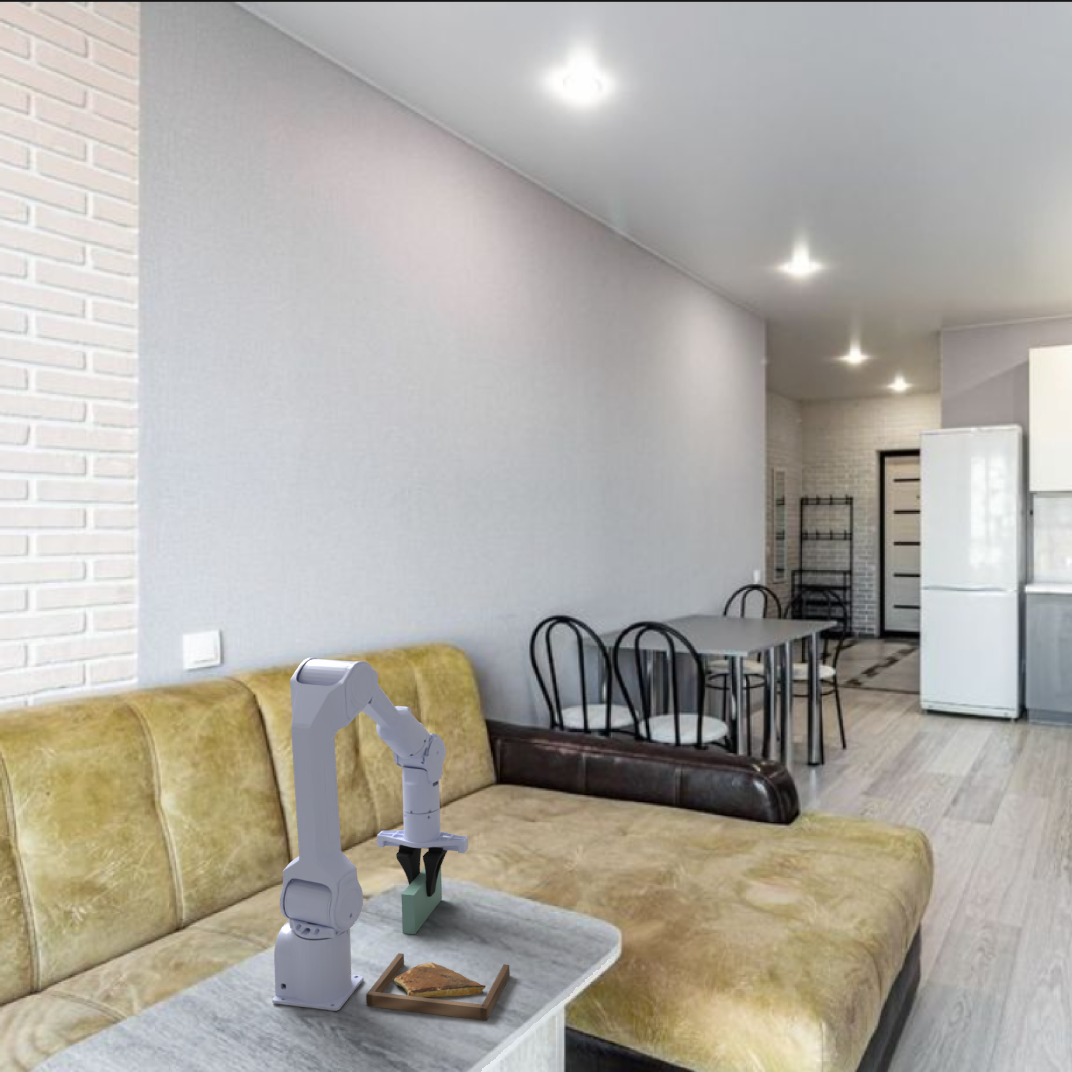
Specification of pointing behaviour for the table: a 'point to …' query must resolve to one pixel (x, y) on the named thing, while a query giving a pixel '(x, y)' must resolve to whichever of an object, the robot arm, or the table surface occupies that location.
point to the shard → (436, 982)
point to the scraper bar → (419, 903)
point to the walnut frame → (432, 1005)
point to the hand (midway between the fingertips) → (423, 893)
